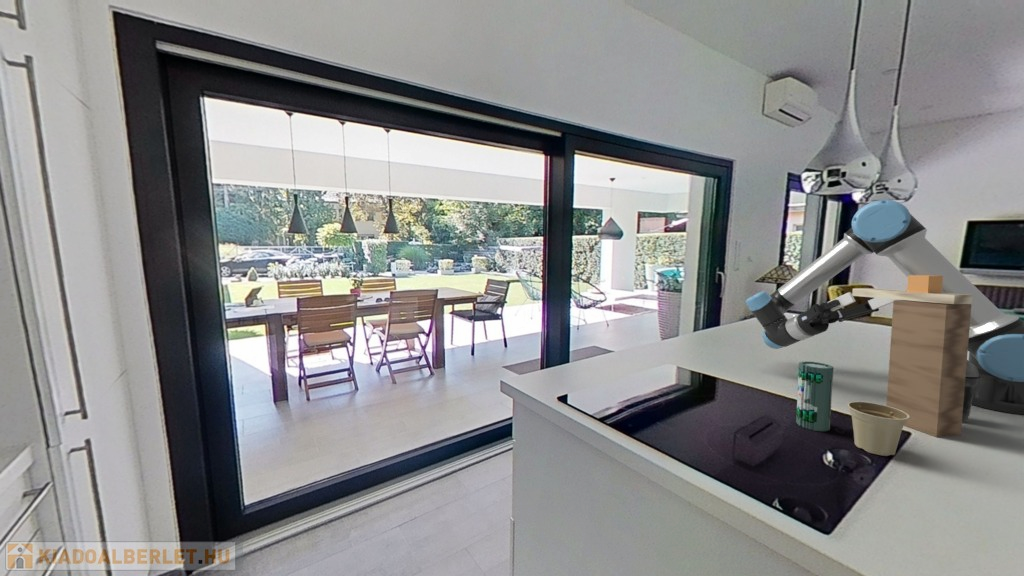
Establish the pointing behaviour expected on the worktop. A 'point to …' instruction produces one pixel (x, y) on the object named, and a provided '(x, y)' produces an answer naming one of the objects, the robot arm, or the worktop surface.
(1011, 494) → the worktop surface
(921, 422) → the stand
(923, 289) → the cube
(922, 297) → the slat
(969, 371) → the beverage cup
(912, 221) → the robot arm
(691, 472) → the worktop surface
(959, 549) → the worktop surface
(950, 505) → the worktop surface
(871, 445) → the flower pot
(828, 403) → the can
